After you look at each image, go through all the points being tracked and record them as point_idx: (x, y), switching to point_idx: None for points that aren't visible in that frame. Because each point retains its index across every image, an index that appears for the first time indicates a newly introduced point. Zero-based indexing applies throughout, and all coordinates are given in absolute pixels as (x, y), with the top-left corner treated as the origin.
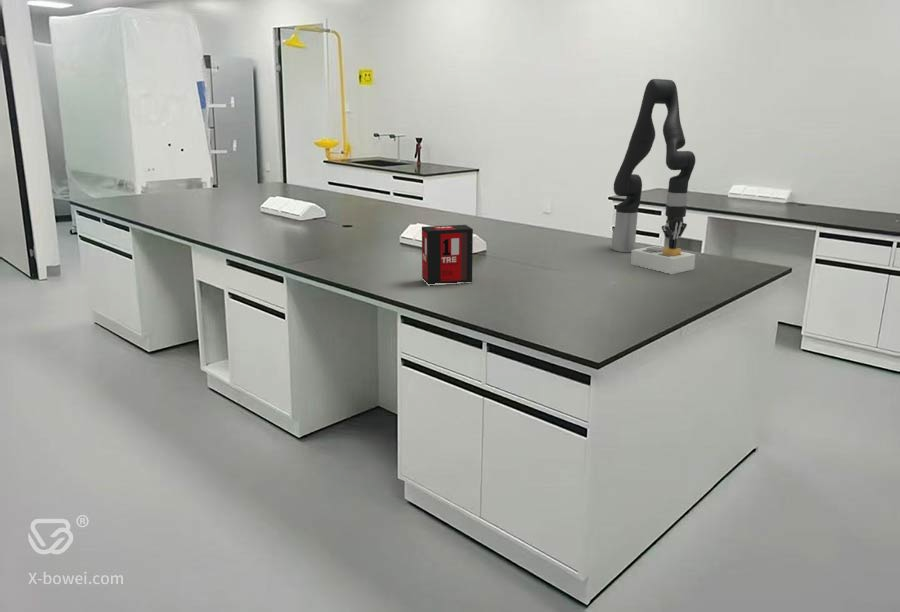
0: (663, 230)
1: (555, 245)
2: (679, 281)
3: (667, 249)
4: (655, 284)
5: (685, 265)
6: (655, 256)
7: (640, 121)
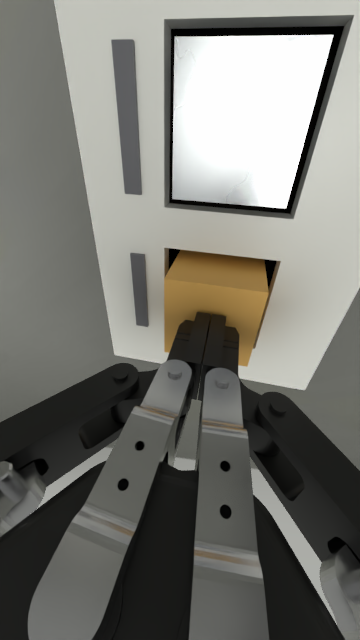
0: (2, 430)
1: None
2: (94, 360)
3: (165, 312)
4: (9, 331)
5: None
6: (101, 251)
7: None
